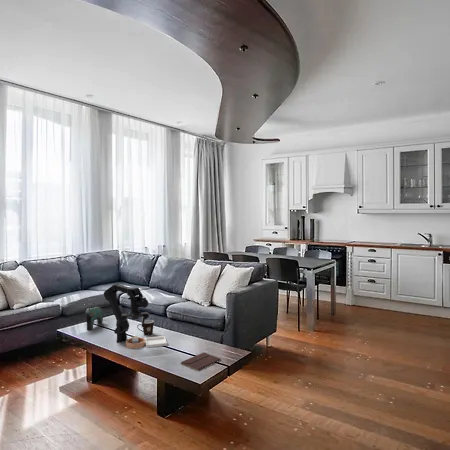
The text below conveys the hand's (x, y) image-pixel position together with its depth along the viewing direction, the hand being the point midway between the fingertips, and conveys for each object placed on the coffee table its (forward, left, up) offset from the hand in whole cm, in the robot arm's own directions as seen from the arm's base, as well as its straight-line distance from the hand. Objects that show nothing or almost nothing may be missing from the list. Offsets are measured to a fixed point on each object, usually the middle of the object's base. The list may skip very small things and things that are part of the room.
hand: (135, 328), depth 255 cm
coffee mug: (+8, +18, -12) cm, 23 cm away
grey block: (0, -5, -11) cm, 12 cm away
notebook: (+38, -42, -12) cm, 58 cm away
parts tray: (+14, -2, -12) cm, 18 cm away
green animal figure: (-31, +49, -12) cm, 59 cm away
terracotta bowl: (0, -2, -12) cm, 12 cm away
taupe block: (0, 0, -11) cm, 11 cm away
